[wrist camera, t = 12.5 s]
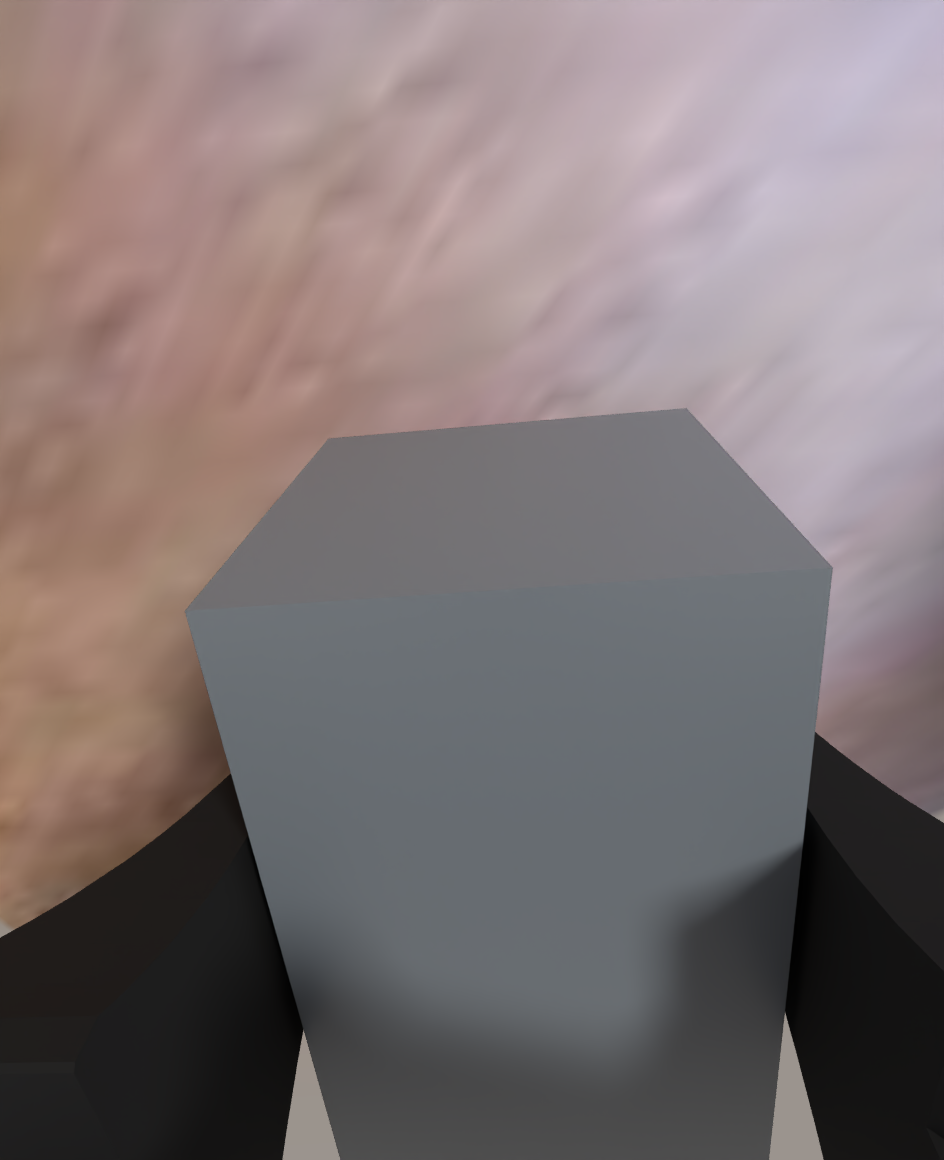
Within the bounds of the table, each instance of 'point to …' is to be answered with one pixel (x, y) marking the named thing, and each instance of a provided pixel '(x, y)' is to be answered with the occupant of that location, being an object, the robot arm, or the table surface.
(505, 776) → the gray block
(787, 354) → the table surface
